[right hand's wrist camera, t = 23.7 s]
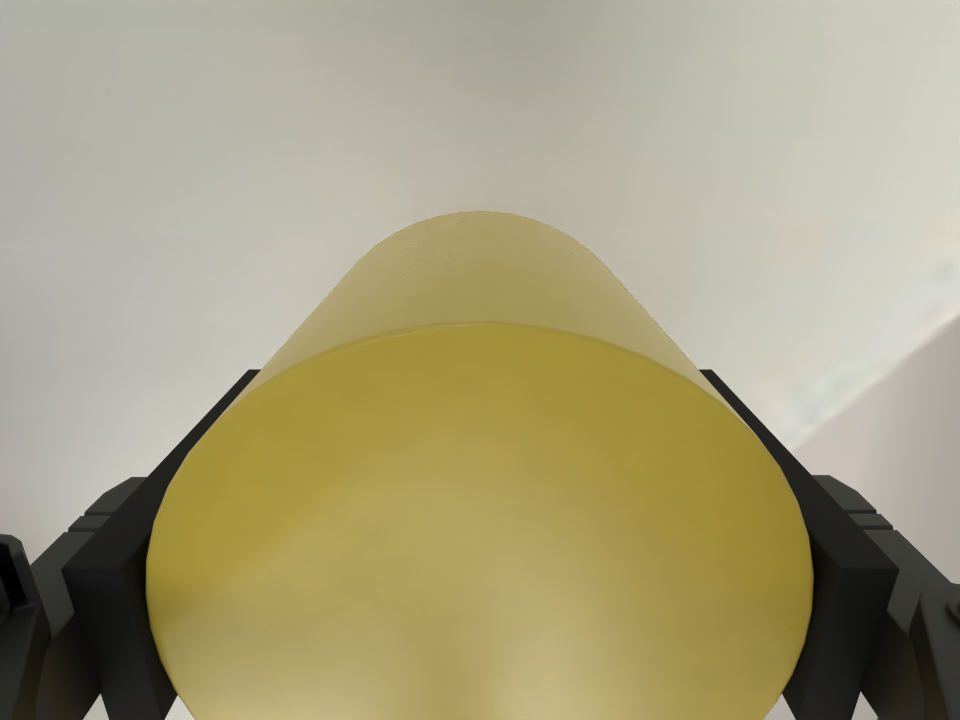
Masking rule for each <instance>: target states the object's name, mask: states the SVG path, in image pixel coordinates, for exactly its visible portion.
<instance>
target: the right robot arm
mask: <svg viewBox="0 0 960 720" xmlns="http://www.w3.org/2000/svg"><path fill="white" fill-rule="evenodd" d="M260 371H261V370H248V371H247V372H246V373H245V374H244V375H243V376H242V377H241V378H240V379H239V380H238V382H237V383H236V384H235V385H234V386H233V387H232V388H231V389H230V390H229V391H228V392H227V393H226V394H225V395H224V396H223V397H222V398H221V400H220V401H219V402H218V403H217V404H216V405H215V406H214V407H213V408H212V409H211V410H210V411H209V412H208V413H207V414H206V415H205V417H204V418H203V419H202V420H201V421H200V422H199V423H198V424H197V425H196V426H195V427H194V428H193V429H192V430H191V431H190V432H189V433H188V435H187V436H186V437H185V438H184V439H183V440H182V441H181V442H180V443H179V444H178V445H177V446H176V447H175V448H174V449H173V450H172V451H171V453H170V454H169V455H168V456H167V457H166V458H165V459H164V460H163V461H162V462H161V463H160V464H159V465H158V466H157V467H156V468H155V470H154V471H153V472H152V473H151V474H150V475H149V476H148V477H131V478H129V479H128V480H126V481H124V482H122V483H121V484H119V485H117V486H116V487H114V488H112V489H110V490H109V491H107V492H105V493H104V494H103V495H102V496H101V497H100V498H99V499H98V500H97V501H96V502H95V503H94V504H93V505H91V506H90V507H89V508H88V509H87V510H86V511H85V515H84V516H80V517H79V518H78V519H77V520H76V521H75V522H74V523H73V524H72V525H71V526H70V527H69V528H68V532H64V533H63V534H62V535H61V536H60V537H59V538H58V539H57V540H56V541H55V542H54V543H53V544H52V545H51V546H50V547H49V548H48V549H47V550H46V551H45V552H44V553H43V554H42V555H41V556H39V557H38V558H37V559H36V560H35V561H34V562H33V563H32V564H31V565H29V562H28V560H27V557H26V554H25V551H24V548H23V545H22V542H21V541H20V540H18V539H17V538H15V537H13V536H12V535H4V534H0V720H83V719H84V717H85V716H86V714H87V713H88V711H89V710H90V708H91V707H92V705H93V704H94V702H95V701H96V699H97V698H98V696H99V695H100V693H101V696H102V699H103V702H104V705H105V708H106V711H107V714H108V717H109V720H165V718H166V716H167V714H168V712H169V710H170V708H171V706H172V704H173V703H174V701H175V699H176V697H177V695H178V694H177V692H176V691H175V689H174V687H173V685H172V683H171V681H170V679H169V677H168V675H167V673H166V671H165V669H164V667H163V665H162V663H161V661H160V658H159V654H158V651H157V648H156V645H155V642H154V639H153V635H152V632H151V629H150V623H149V616H148V609H147V602H146V595H145V594H146V560H147V554H148V549H149V544H150V539H151V534H152V529H153V524H154V521H155V518H156V515H157V513H158V510H159V508H160V505H161V503H162V500H163V498H164V495H165V493H166V490H167V488H168V486H169V484H170V482H171V481H172V479H173V477H174V476H175V474H176V472H177V471H178V469H179V467H180V466H181V464H182V462H183V461H184V459H185V458H186V456H187V454H188V453H189V451H190V450H191V449H192V448H193V447H194V446H195V444H196V443H197V442H198V441H199V440H200V439H201V437H202V436H203V435H204V434H205V433H206V432H207V430H208V429H209V428H210V427H211V426H212V425H213V423H214V422H215V421H216V420H217V419H218V418H219V417H220V415H221V414H222V413H223V412H224V411H225V410H226V409H227V408H228V406H229V405H230V404H231V403H232V402H233V401H234V400H235V399H236V397H237V396H238V395H239V394H240V393H241V392H242V391H243V390H244V389H245V387H246V386H247V385H248V384H249V383H250V382H251V381H252V380H253V378H254V377H255V376H256V375H257V374H258V373H259V372H260ZM699 371H700V372H701V373H702V374H703V375H704V377H705V378H706V379H707V380H708V381H709V382H710V383H711V384H712V386H713V387H714V388H715V389H716V390H717V391H718V392H719V393H720V395H721V396H722V397H723V398H724V399H725V400H726V401H727V402H728V404H729V405H730V406H731V407H732V408H733V409H734V410H735V411H736V413H737V414H738V415H739V416H740V417H741V418H742V419H743V420H744V422H745V423H746V424H747V425H748V426H749V427H750V428H751V429H752V431H753V432H754V433H755V434H756V435H757V437H758V438H759V439H760V441H761V442H762V443H763V445H764V446H765V447H766V449H767V450H768V451H769V453H770V454H771V455H772V457H773V458H774V459H775V461H776V462H777V463H778V465H779V466H780V468H781V470H782V472H783V474H784V476H785V478H786V479H787V481H788V483H789V485H790V487H791V489H792V491H793V493H794V495H795V497H796V499H797V501H798V504H799V507H800V510H801V513H802V517H803V520H804V523H805V526H806V529H807V533H808V536H809V542H810V550H811V558H812V565H813V573H814V580H813V602H812V613H811V617H810V622H809V626H808V631H807V636H806V640H805V644H804V646H803V649H802V652H801V654H800V657H799V659H798V662H797V664H796V667H795V670H794V672H793V674H792V676H791V678H790V680H789V681H788V683H787V685H786V687H785V688H784V690H783V692H782V694H783V696H784V698H785V700H786V702H787V704H788V706H789V708H790V709H791V711H792V713H793V715H794V717H795V719H796V720H851V719H852V716H853V713H854V710H855V706H856V703H857V700H858V697H859V694H860V691H861V692H862V694H863V695H864V697H865V698H866V700H867V701H868V703H869V704H870V706H871V707H872V709H873V710H874V712H875V713H876V715H877V716H878V719H877V720H960V584H954V583H951V582H950V581H949V580H948V579H947V578H946V577H945V576H943V575H942V574H941V573H940V572H939V571H938V570H937V569H936V568H935V567H934V566H933V565H932V564H931V563H930V562H929V561H928V560H927V559H926V558H925V557H924V556H923V555H922V554H921V553H920V552H919V551H918V550H917V549H916V548H915V547H914V546H913V545H912V544H911V543H910V542H909V541H908V540H906V539H905V538H904V537H903V536H902V535H901V534H900V533H899V532H898V531H897V530H893V526H892V525H891V524H890V523H889V522H888V521H887V520H886V519H885V518H884V517H883V516H882V515H881V514H877V512H876V509H875V508H874V507H873V506H872V505H871V504H870V503H869V502H867V501H866V500H865V499H864V498H863V497H862V496H861V495H860V494H859V493H858V492H857V491H856V490H854V489H852V488H850V487H849V486H847V485H845V484H843V483H842V482H840V481H838V480H837V479H835V478H833V477H831V476H829V475H811V474H810V473H809V472H808V471H807V470H806V469H805V468H804V467H803V466H802V465H801V464H800V463H799V462H798V461H797V460H796V458H795V457H794V456H793V455H792V454H791V453H790V452H789V451H788V450H787V449H786V448H785V447H784V446H783V445H782V444H781V443H780V442H779V440H778V439H777V438H776V437H775V436H774V435H773V434H772V433H771V432H770V431H769V430H768V429H767V428H766V427H765V426H764V425H763V423H762V422H761V421H760V420H759V419H758V418H757V417H756V416H755V415H754V414H753V413H752V412H751V411H750V410H749V409H748V408H747V407H746V405H745V404H744V403H743V402H742V401H741V400H740V399H739V398H738V397H737V396H736V395H735V394H734V393H733V392H732V391H731V390H730V389H729V387H728V386H727V385H726V384H725V383H724V382H723V381H722V380H721V379H720V378H719V377H718V376H717V375H716V374H715V373H714V372H713V371H712V370H699Z"/></svg>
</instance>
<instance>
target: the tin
mask: <svg viewBox="0 0 960 720" xmlns="http://www.w3.org/2000/svg"><path fill="white" fill-rule="evenodd" d="M813 580H814V573H813V565H812V558H811V550H810V542H809V536H808V533H807V529H806V526H805V523H804V520H803V517H802V513H801V510H800V507H799V504H798V501H797V499H796V497H795V495H794V493H793V491H792V489H791V487H790V485H789V483H788V481H787V479H786V478H785V476H784V474H783V472H782V470H781V468H780V466H779V465H778V463H777V462H776V461H775V459H774V458H773V457H772V455H771V454H770V453H769V451H768V450H767V449H766V447H765V446H764V445H763V443H762V442H761V441H760V439H759V438H758V437H757V435H756V434H755V433H754V432H753V431H752V429H751V428H750V427H749V426H748V425H747V424H746V423H745V422H744V420H743V419H742V418H741V417H740V416H739V415H738V414H737V413H736V411H735V410H734V409H733V408H732V407H731V406H730V405H729V404H728V402H727V401H726V400H725V399H724V398H723V397H722V396H721V395H720V393H719V392H718V391H717V390H716V389H715V388H714V387H713V386H712V384H711V383H710V382H709V381H708V380H707V379H706V378H705V377H704V375H703V374H702V373H701V372H700V371H699V370H698V369H697V368H696V367H695V365H694V364H693V363H692V362H691V361H690V360H689V359H688V358H687V356H686V355H685V354H684V353H683V352H682V351H681V350H680V349H679V347H678V346H677V345H676V344H675V343H674V342H673V341H672V340H671V338H670V337H669V336H668V335H667V334H666V333H665V332H664V331H663V329H662V328H661V327H660V326H659V325H658V324H657V323H656V322H655V320H654V319H653V318H652V317H651V316H650V315H649V314H648V313H647V311H646V310H645V309H644V308H643V307H642V306H641V305H640V304H639V302H638V301H637V300H636V299H635V298H634V297H633V296H632V295H631V293H630V292H629V291H628V290H627V289H626V288H625V287H624V286H623V284H622V283H621V282H620V281H619V280H618V279H617V278H616V277H615V275H614V274H613V273H612V272H611V271H610V270H609V269H608V268H607V267H606V266H605V265H604V264H603V263H602V262H601V261H600V260H599V259H598V258H597V257H596V256H595V255H594V254H593V253H592V252H591V251H590V250H588V249H587V248H586V247H584V246H583V245H582V244H580V243H579V242H578V241H576V240H575V239H574V238H572V237H570V236H568V235H566V234H565V233H563V232H561V231H559V230H557V229H555V228H554V227H551V226H548V225H546V224H543V223H541V222H538V221H535V220H533V219H529V218H525V217H521V216H517V215H512V214H507V213H497V212H486V211H481V212H460V213H454V214H448V215H443V216H437V217H434V218H431V219H428V220H425V221H421V222H418V223H415V224H413V225H411V226H409V227H407V228H405V229H403V230H400V231H398V232H396V233H394V234H393V235H391V236H390V237H388V238H387V239H385V240H384V241H382V242H381V243H379V244H377V245H376V246H375V247H374V248H372V249H371V250H370V251H369V252H368V253H367V254H366V255H364V256H363V257H362V258H361V259H360V260H359V261H358V262H357V263H356V264H355V265H354V266H353V267H352V269H351V270H350V271H349V272H348V273H347V274H346V275H345V276H344V278H343V279H342V280H341V281H340V282H339V283H338V284H337V285H336V287H335V288H334V289H333V290H332V291H331V292H330V293H329V294H328V295H327V297H326V298H325V299H324V300H323V301H322V302H321V303H320V304H319V306H318V307H317V308H316V309H315V310H314V311H313V312H312V313H311V315H310V316H309V317H308V318H307V319H306V320H305V321H304V322H303V323H302V325H301V326H300V327H299V328H298V329H297V330H296V331H295V332H294V334H293V335H292V336H291V337H290V338H289V339H288V340H287V341H286V343H285V344H284V345H283V346H282V347H281V348H280V349H279V350H278V352H277V353H276V354H275V355H274V356H273V357H272V358H271V359H270V360H269V362H268V363H267V364H266V365H265V366H264V367H263V368H262V369H261V371H260V372H259V373H258V374H257V375H256V376H255V377H254V378H253V380H252V381H251V382H250V383H249V384H248V385H247V386H246V387H245V389H244V390H243V391H242V392H241V393H240V394H239V395H238V396H237V397H236V399H235V400H234V401H233V402H232V403H231V404H230V405H229V406H228V408H227V409H226V410H225V411H224V412H223V413H222V414H221V415H220V417H219V418H218V419H217V420H216V421H215V422H214V423H213V425H212V426H211V427H210V428H209V429H208V430H207V432H206V433H205V434H204V435H203V436H202V437H201V439H200V440H199V441H198V442H197V443H196V444H195V446H194V447H193V448H192V449H191V450H190V451H189V453H188V454H187V456H186V458H185V459H184V461H183V462H182V464H181V466H180V467H179V469H178V471H177V472H176V474H175V476H174V477H173V479H172V481H171V482H170V484H169V486H168V488H167V490H166V493H165V495H164V498H163V500H162V503H161V505H160V508H159V510H158V513H157V515H156V518H155V521H154V524H153V529H152V534H151V539H150V544H149V549H148V554H147V560H146V594H145V595H146V602H147V609H148V616H149V623H150V629H151V632H152V635H153V639H154V642H155V645H156V648H157V651H158V654H159V658H160V661H161V663H162V665H163V667H164V669H165V671H166V673H167V675H168V677H169V679H170V681H171V683H172V685H173V687H174V689H175V691H176V692H177V694H178V695H179V697H180V698H181V700H182V701H183V703H184V704H185V706H186V707H187V709H188V710H189V711H190V713H191V714H192V716H193V717H194V719H195V720H763V719H764V718H765V717H766V715H767V714H768V713H769V712H770V710H771V709H772V708H773V706H774V705H775V704H776V702H777V701H778V699H779V697H780V695H781V694H782V692H783V690H784V688H785V687H786V685H787V683H788V681H789V680H790V678H791V676H792V674H793V672H794V670H795V667H796V664H797V662H798V659H799V657H800V654H801V652H802V649H803V646H804V644H805V640H806V636H807V631H808V626H809V622H810V617H811V613H812V602H813Z"/></svg>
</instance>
